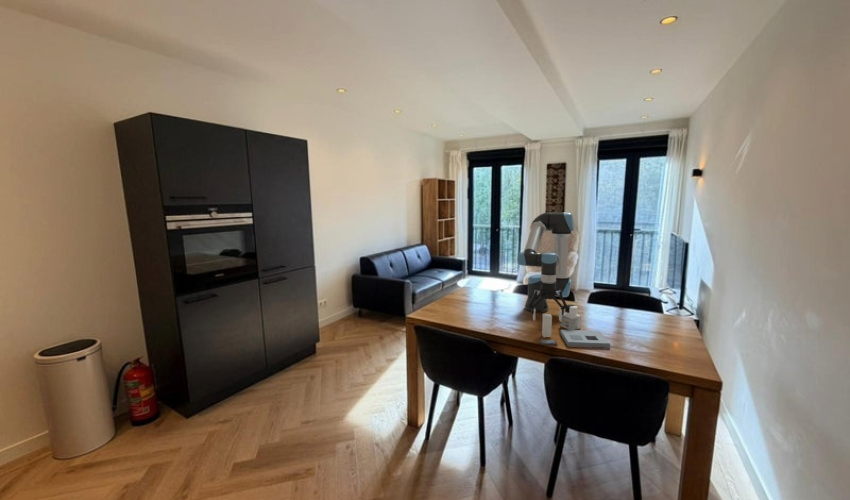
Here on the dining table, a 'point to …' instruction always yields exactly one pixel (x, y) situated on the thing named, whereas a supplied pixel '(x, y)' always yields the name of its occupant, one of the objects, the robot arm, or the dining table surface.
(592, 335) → the outlet plate
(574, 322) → the container
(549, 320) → the light grey rectangular block
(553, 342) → the phone
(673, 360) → the dining table surface
